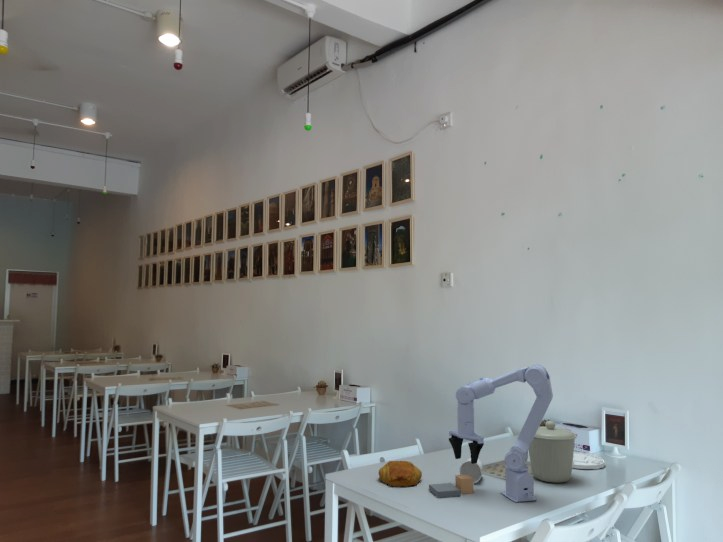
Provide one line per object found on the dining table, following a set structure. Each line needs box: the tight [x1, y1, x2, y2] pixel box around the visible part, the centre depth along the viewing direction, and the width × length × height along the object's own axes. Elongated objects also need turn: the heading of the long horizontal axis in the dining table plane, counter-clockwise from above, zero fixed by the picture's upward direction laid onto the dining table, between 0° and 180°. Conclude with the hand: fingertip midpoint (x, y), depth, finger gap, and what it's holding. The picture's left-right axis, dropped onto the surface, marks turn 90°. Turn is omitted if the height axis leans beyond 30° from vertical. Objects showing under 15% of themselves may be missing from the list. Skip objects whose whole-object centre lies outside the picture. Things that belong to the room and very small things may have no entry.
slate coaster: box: [428, 482, 462, 499], centre depth 182 cm, size 8×8×2 cm
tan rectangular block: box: [454, 474, 474, 495], centre depth 184 cm, size 4×4×5 cm
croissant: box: [378, 460, 423, 487], centre depth 195 cm, size 14×16×8 cm
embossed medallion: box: [572, 451, 606, 471], centre depth 222 cm, size 20×20×3 cm
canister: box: [528, 420, 577, 484], centre depth 201 cm, size 18×18×21 cm
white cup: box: [459, 457, 484, 485], centre depth 198 cm, size 8×8×10 cm
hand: (466, 460), depth 188 cm, fingers open, 7 cm apart
